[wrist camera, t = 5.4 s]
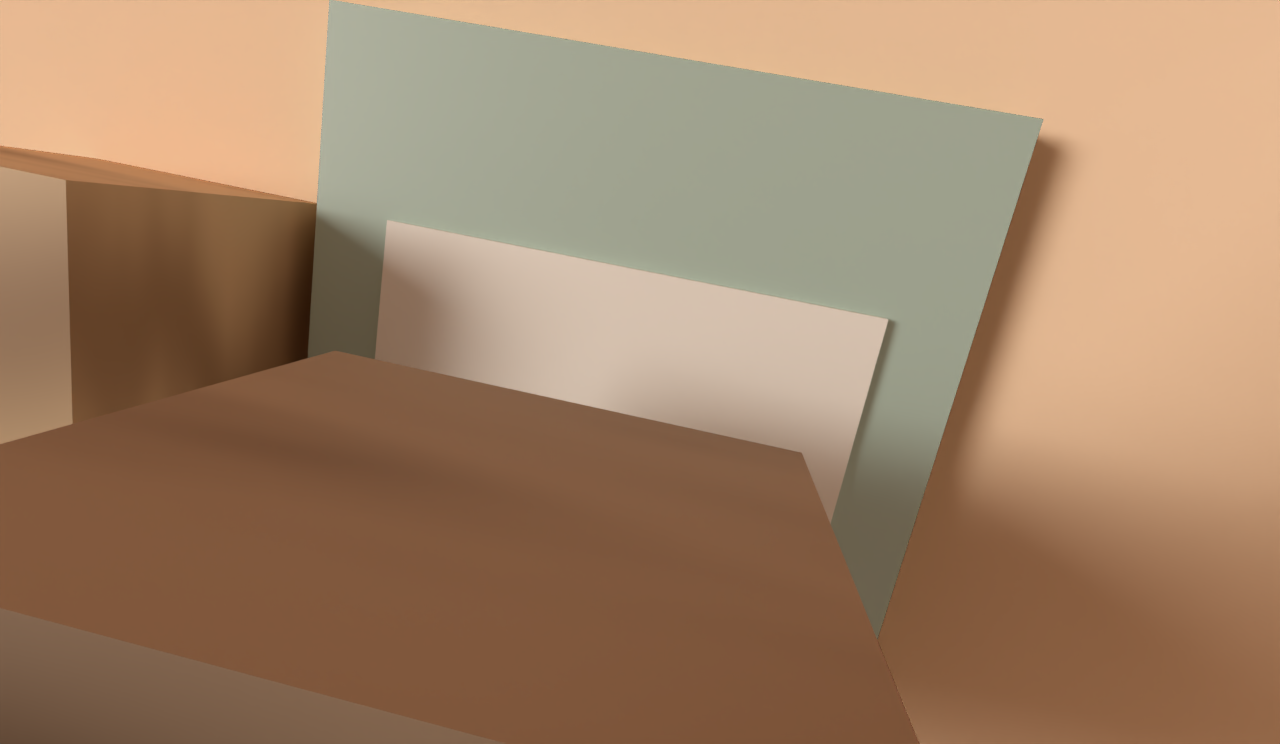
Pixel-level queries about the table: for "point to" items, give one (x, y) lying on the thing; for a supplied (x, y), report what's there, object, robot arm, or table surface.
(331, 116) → the base board
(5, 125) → the table surface
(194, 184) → the oak cube
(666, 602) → the walnut block
